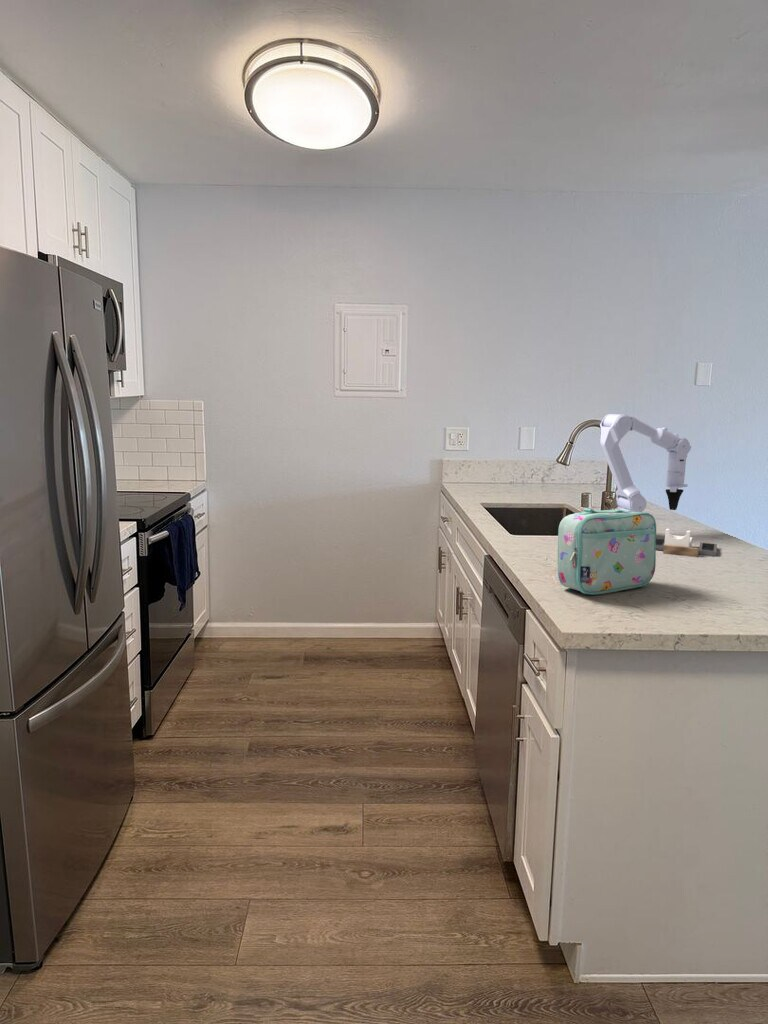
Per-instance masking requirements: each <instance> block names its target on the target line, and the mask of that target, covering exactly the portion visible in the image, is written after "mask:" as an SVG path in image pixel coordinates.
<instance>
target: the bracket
mask: <svg viewBox="0 0 768 1024" xmlns="http://www.w3.org/2000/svg"><path fill="white" fill-rule="evenodd" d="M664 531H665V532H664V533H665V534H664V539H665V543H664V545H672V546H682V547H692V545H693V538H694V537H692V536H691V530H686V532H685V534H684V535H674V534H672V533H671V529H670V528H666V529H665V530H664Z"/></svg>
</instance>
